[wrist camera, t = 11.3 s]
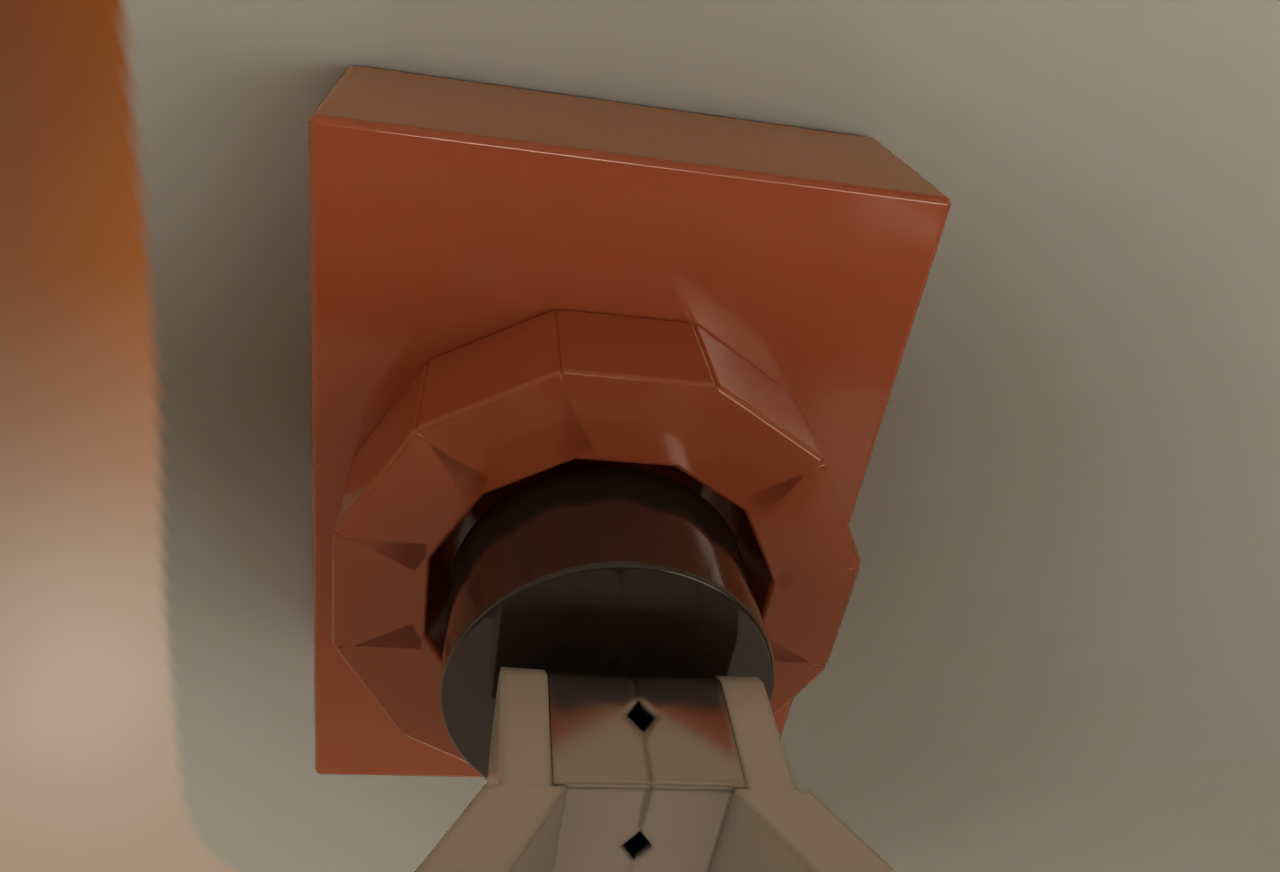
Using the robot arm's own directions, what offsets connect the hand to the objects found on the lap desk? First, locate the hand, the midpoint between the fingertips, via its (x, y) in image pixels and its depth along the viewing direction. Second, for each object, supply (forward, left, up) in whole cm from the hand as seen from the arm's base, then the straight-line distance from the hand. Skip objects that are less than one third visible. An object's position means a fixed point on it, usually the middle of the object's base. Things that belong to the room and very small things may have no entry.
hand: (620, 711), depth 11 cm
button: (0, 0, -2) cm, 2 cm away
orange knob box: (0, 0, -7) cm, 7 cm away
